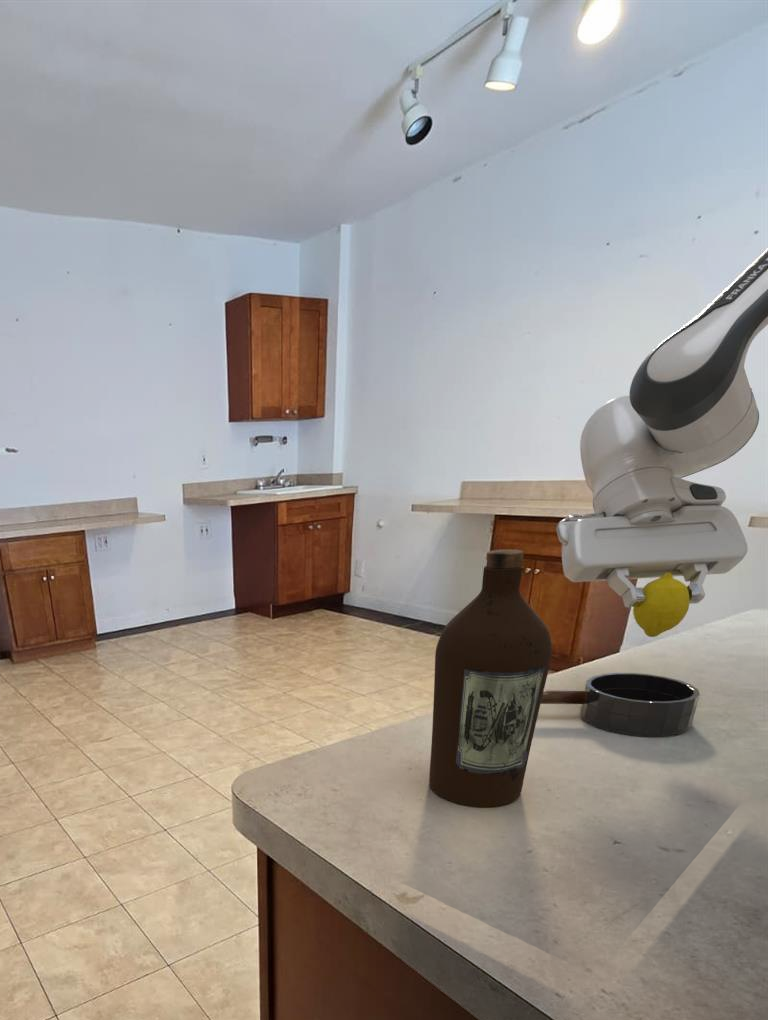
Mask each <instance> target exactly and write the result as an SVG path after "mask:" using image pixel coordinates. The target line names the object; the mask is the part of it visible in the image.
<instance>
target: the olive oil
mask: <svg viewBox="0 0 768 1020" xmlns="http://www.w3.org/2000/svg"><path fill="white" fill-rule="evenodd" d="M524 554H525V551H523V550H521V549H511V548H510V549H508V548H507V549H506V548H505V549H493V550H489V551H487V552H486V557H485V558H486V559H485V560H486V565H485V566H483V571H482V572H483V573H482V574H483V575H482V582H481V590H480V592H479V593H478V594H477V595H476V596H475V597H474V598H473V599H472V600H471V601H470V602H469V603H468V604H467V605H466V606H465V607H464V608H462V609H461V610H460V611H459V612H458V613H457V614H456V615H455V616H453V617H452V618H451V619H450V621H448V623H446V625H445V626H444V628H443V630H442V631H441V634H440V636H439V638H438V641H437V644H436V647H435V653H434V654H435V655H434V681H433V703H432V704H433V708H432V728H431V730H432V731H431V748H430V761H429V762H430V763H429V778H428V779H429V780H428V784H429V787H430V788H431V789H432V790H433V792H434V793H435V792H436V793H435V794H437V795H438V796H440V797H441V798H443V799H445V800H447V799H448V801H449V802H453V803H456V804H460V805H465V806H471V807H478V808H479V807H480V808H481V807H484V808H486V807H487V808H489V807H499V806H504V805H508V804H511V803H512V802H515V801H516V800H518V799H519V797H520V796H521V794H522V790H523V785H524V781H525V780H524V779H525V776H526V771H527V768H528V767H527V766H528V761H529V756H530V752H531V747H532V743H533V739H534V733H535V730H536V725H537V722H538V721H537V720H538V716H539V713H540V708H541V705H542V704H541V700H542V696H543V691H544V690H545V687H546V684H547V678H548V674H549V671H550V666H551V663H552V656H553V648H552V640H551V634H550V632H549V629H548V627H547V625H546V623H545V622H544V621H543V620H542V618H541V617H540V616H539V615H538V614H537V612H536V611H535V610H534V608H532V607H531V605H530V604H529V603H528V601H526V600H525V598H524V597H523V595H522V594H521V591H520V588H521V587H520V586H521V582H522V576H523V570H524V566H523V565H522V562H523V560H524Z"/></svg>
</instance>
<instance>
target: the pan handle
mask: <svg viewBox="0 0 768 1020" xmlns="http://www.w3.org/2000/svg"><path fill="white" fill-rule="evenodd" d="M587 701H588V692H587V691H584V690H551V689H550V690H548V689H547V690H546V689H544V691H543V696H542V700H541V704H540V705H582V704H586V703H587Z"/></svg>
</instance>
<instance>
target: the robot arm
mask: <svg viewBox="0 0 768 1020" xmlns="http://www.w3.org/2000/svg"><path fill="white" fill-rule="evenodd" d="M767 326H768V248H767V249H766V250H764V251H763V253H761V255H760V256H758V257H757V259H755V260H754V261H753V262H752V263H751V264H750V265H749V266H748V267H747V268H745V270H744V271H743V272H742V273H740V274H739V275H738V277H737V278H735V279H734V280H733V281H732V282H731V283H730V284H729V285H728V286H727V287H726V288H725V289H724V290H722V292H721V293H720V294H719V295H718V296H716V298H715V299H713V301H711V303H709V304H708V305H707V306H706V307H705V308H704V309H703V310H702V311H701V312H699V313H698V314H697V315H695V317H693V318H692V319H691V320H690V321H688V322H687V323H686V324H684V325H683V326H681V327H680V328H679V329H678V330H676V331H674V332H673V333H672V334H670V335H669V336H668V337H667V338H665V339H664V340H662V341H661V342H660V343H659V344H658V345H657V346H656V347H655V348H654V349H652V351H650V353H649V354H648V355H646V357H645V358H644V360H643V361H642V362H641V364H640V365H639V367H638V368H637V370H636V372H635V374H634V376H633V378H632V380H631V383H630V387H629V395H622V396H618V397H615V398H613V399H611V400H609V401H607V402H605V403H604V404H602V405H601V406H600V407H598V409H596V410H595V412H593V414H591V416H590V417H589V418H588V419H587V421H586V422H585V424H584V427H583V429H582V431H581V435H580V441H579V451H580V453H579V454H580V460H581V467H582V472H583V476H584V479H585V480H584V481H585V483H586V486H587V487H588V488H589V490H591V493H592V509H593V512H592V513H585V514H576V513H575V514H569V515H566V517H565V518H563V519H561V520H560V521H558V523H557V525H556V534H557V537H558V541H559V542H560V543H561V563H562V564H561V565H562V570H563V575H564V577H565V578H566V579H567V580H569V581H570V582H572V583H588V582H589V583H590V582H605V581H607V584H608V587H609V589H612V591H614V592H615V593H616V594H617V595H618V596H619V597H621V598H622V602H623V605H624V608H634V607H638V606H640V605H641V603H643V602H644V601H645V595H644V594H643V587H636V586H635V585H634V584H633V583H632V582H631V581H630V580H637V579H638V580H639V579H654V578H655V579H658V578H660V577H662V576H663V574H665V573H666V572H668V571H669V572H670V573H671V574H672V576H673V578H674V577H683V579H684V582H686V583H687V582H689V583H688V585H686V587H687V589H688V593H689V601H690V603H689V605H690V604H691V605H692V604H699V603H700V602H702V601H703V600H704V599H705V596H706V593H705V590H704V588H703V584H704V582H705V580H706V577H707V576H708V575H722V574H723V575H724V574H727V573H729V572H730V571H731V570H733V569H734V568H735V567H736V566H737V565H738V564H739V563H741V561H743V560H744V559H745V557H746V556H747V553H748V550H749V548H748V544H747V540H746V538H745V535H744V532H743V530H742V528H741V525H740V523H739V521H738V519H737V517H736V516H735V514H734V513H733V511H732V510H731V509H729V508H728V507H725V506H723V503H725V501H726V499H727V495H726V492H725V490H724V489H723V488H722V487H719V486H714V485H709V484H703V483H697V482H694V481H689V480H686V479H683V478H686V477H689V476H691V475H694V474H696V473H699V472H702V471H704V470H707V469H710V468H712V467H715V466H717V465H719V464H721V463H723V462H725V461H727V460H729V459H730V458H731V457H733V456H735V455H736V454H737V453H738V452H739V451H740V450H742V449H743V448H744V447H745V446H746V445H747V444H748V443H749V441H750V440H751V438H753V436H754V434H755V432H756V430H757V428H758V425H759V421H760V411H759V408H758V405H757V401H756V398H755V395H754V392H753V388H752V387H751V386H750V382H749V379H748V375H747V373H746V369H745V362H746V358H747V354H748V351H749V349H750V346H751V344H752V342H753V341H754V339H756V336H758V334H759V333H760V332H761V331H763V330H764V329H765V328H766V327H767Z"/></svg>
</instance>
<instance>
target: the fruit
mask: <svg viewBox="0 0 768 1020" xmlns="http://www.w3.org/2000/svg"><path fill="white" fill-rule="evenodd" d="M642 588H643V594H644V595H645V601H644V602H643V603H641V605H640V606H638V607H632V608H633V609H632V614H633V617H634V620H635V623H636V624H637V626H639V627H640V629H642V630H643V632H644V634H645V635H646V636H647V637H649V638H655V637H658V636H659V635H661V634H663V633H665V632H667V631H670V630H672V629H673V628H675V627H677V626H678V625H679V624H680V623H681V622H682V621H683V620H684V618H685V616H686V615H687V613H688V612H689V608H690V604H689V603H690V601H689V593H688V589H687V585H686V584H685V583H684V582H682V581H680V580H678V579H676V578H674V577H673V576H672V574H671V573H670V572H669V571H668V572H666V573H665V574H663V576H662V577H658V578H655V579H654V580H651V581H650V582H647V583H646V584H645V585H644V586H643V587H642Z"/></svg>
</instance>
